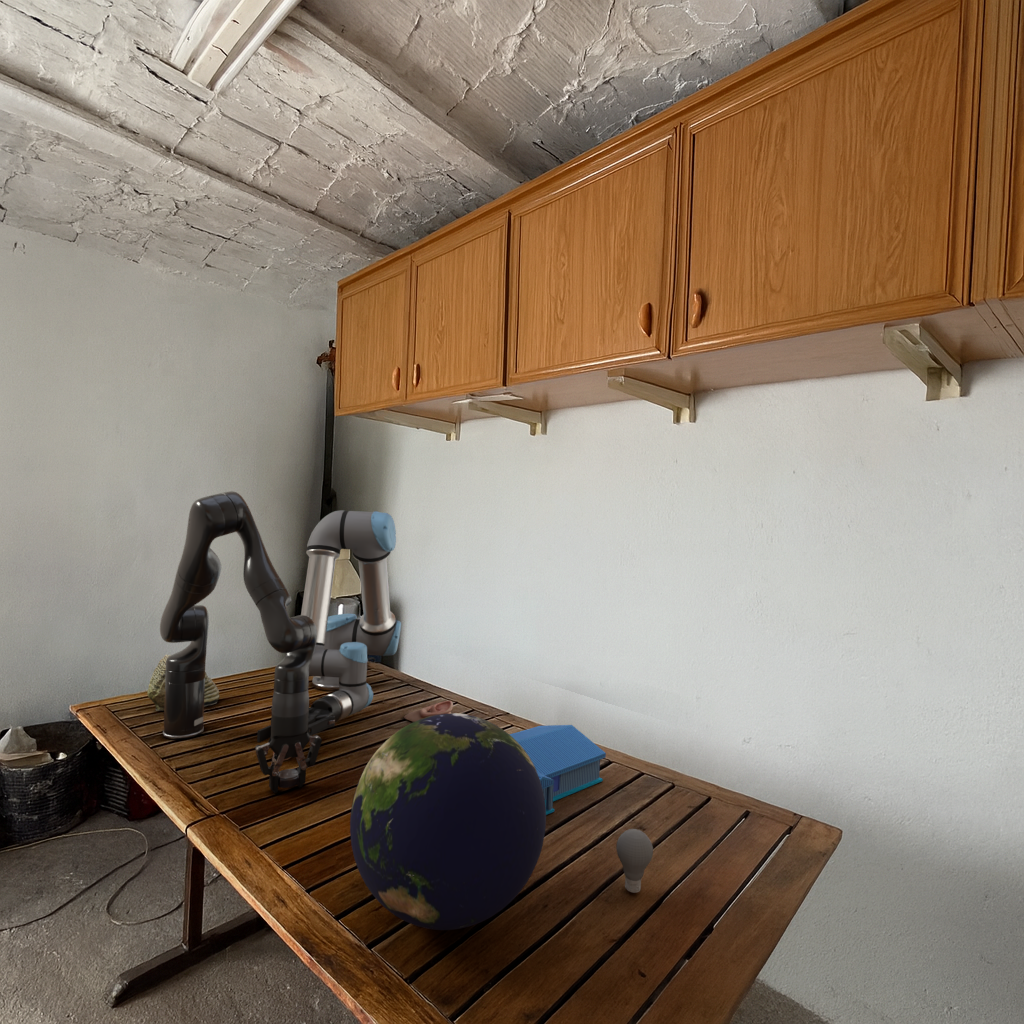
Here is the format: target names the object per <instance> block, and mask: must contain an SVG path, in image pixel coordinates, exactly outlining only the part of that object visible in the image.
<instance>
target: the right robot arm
mask: <svg viewBox="0 0 1024 1024" xmlns="http://www.w3.org/2000/svg"><path fill="white" fill-rule="evenodd" d="M396 535H397V530H396V525H395V521H394V518H393V516H392V515H391V514H389V513H388V512H380V511H378V510H377V511H375V510H374V511H363V510H362V511H361V510H360V511H359V510H345V509H344V510H343V509H341V510H335V511H332V512H330V513H328V514H327V515H325V516H324V517H323V518H321V519H320V520H319V522H318V523H317V524H316V525H315V527H314V528H313V530H312V531H311V533H310V536H309V539H308V540H307V544H306V552H305V553H306V555H307V556H308V562H307V563H308V564H307V570H306V578H305V585H304V592H303V599H302V605H301V613H300V615H305V616H308V617H310V618H311V619H312V620H313V622H314V623H315V626H316V629H317V640H316V646H315V650H314V653H313V657H312V661H311V664H310V667H309V677H312V681H311V686H312V687H313V688H314V689H317V690H320V691H329V692H331V693H328V694H327V695H325V696H322V697H320V698H317V699H316V700H315V701H313V702H312V704H311V706H309V716H308V734H309V736H314V735H317V734H318V733H321V732H323V731H325V730H327V729H329V728H333V727H335V726H336V723H338V722H339V721H342V720H344V719H345V718H347V717H350V716H352V715H354V714H356V713H358V712H361V711H363V710H364V709H367V707H369V706H370V705H371V704H372V701H373V700H374V691H373V689H372V687H371V685H370V684H369V683H367V674H368V673H367V671H368V662H369V661H372V662H373V661H374V662H375V661H376V658H375V657H373V656H379V657H380V656H381V657H384V656H394V655H395V654H396V653H397V650H398V647H399V643H400V637H401V631H402V622H401V621H400V620H397V619H396V615H395V614H394V613H393V611H391V602H390V588H389V574H388V559H387V558H389V556H391V553H392V552H393V551H394V550H395V548H396V543H397V536H396ZM341 550H351V551H352V556H353V557H352V558H354V559H355V560H356V561H358V570H359V582H360V591H361V592H360V593H361V602H362V610H363V611H362V612H363V614H362V615H361V617H360V618H358V616H357V614H355V613H340V614H333V615H330V614H329V612H330V605H331V598H332V590H333V584H334V577H335V567H336V561H337V560H338V558H340V555H341ZM329 615H330V616H329ZM368 656H370V657H368ZM371 656H372V657H371ZM271 720H272V718H271V719H270V721H271ZM256 733H257V734H256V742H257V743H262V742H264V741H267V740H269V739H270V737H271V724H270V725H267V726H265V727H263V728H260V729H258V730H257V732H256Z"/></svg>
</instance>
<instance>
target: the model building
mask: <svg viewBox="0 0 1024 1024" xmlns="http://www.w3.org/2000/svg"><path fill="white" fill-rule="evenodd" d="M509 735H511V736H512V737H513V738H514V739H515V740H516V741H517V742H518V743H519V744H520V745H521V747H522V748H523V749H524V750H525V752H526V753H527V754H528V756H529V758H530V759H531V761H532V763H533V764H534V766H535V768H536V771H537V774H538V776H539V779H540V782H541V785H542V789H543V794H544V799H545V807H546V816H547V815H549V814H550V815H551V814H552V813H554V812H555V810H556V809H555V808H553V807H554V802H556V801H558V800H561V799H563V798H566V797H568V796H571V795H572V794H575V793H578V792H581V791H583V790H584V789H587V788H590V787H592V786H594V785H596V784H599V783H601V782H603V781H604V779H603V778H602V777H600V771H601V769H600V768H601V760H603V759H605V758H606V757H607V753H606V752H605V751H604V750H603V749H601V747H600V746H598V745H597V744H596V743H594V741H592V740H591V739H590V738H588V737H587V736H586V735H585V734H584V733H582V732H581V731H580V730H579V729H578V728H576V726H574V725H573V724H552V725H547V724H546V725H538V726H533V727H531V728H528V729H524V730H523V729H522V730H521V731H517V732H513V733H509Z"/></svg>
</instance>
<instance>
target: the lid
mask: <svg viewBox="0 0 1024 1024" xmlns="http://www.w3.org/2000/svg"><path fill="white" fill-rule="evenodd" d="M278 776H279V778H278V788H282V789H288V788H294V787H295V786H297V784H298V783H299V780H300V775H299V771H298V770H297V768H296V769H295V768H285V769H282V770H279V772H278Z"/></svg>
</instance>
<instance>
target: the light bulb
mask: <svg viewBox="0 0 1024 1024" xmlns="http://www.w3.org/2000/svg"><path fill="white" fill-rule="evenodd" d="M615 849H616V854H617V857H618V859H619V861H620V863H621V865H622V867H623V873H624V874H623V875H624V876H625V878H624V888H625V890H627V891H628V892H630V893H634V894H635V893H639V892H640V891H641V889H642V887H641V886H642V879H643V877H644V875H645V871H646V868H647V867H648V866H649V864H650V863H651V861H652V859H653V855H654V847H653V843H652V841H651V838H649V836H648V835H647V834H646V833H645V832H643V831H642V830H641V829H636V828H629V829H627V830H625V831H623V832H622V833H621V834H620V835H619V837H618V839H617V841H616V847H615Z"/></svg>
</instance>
